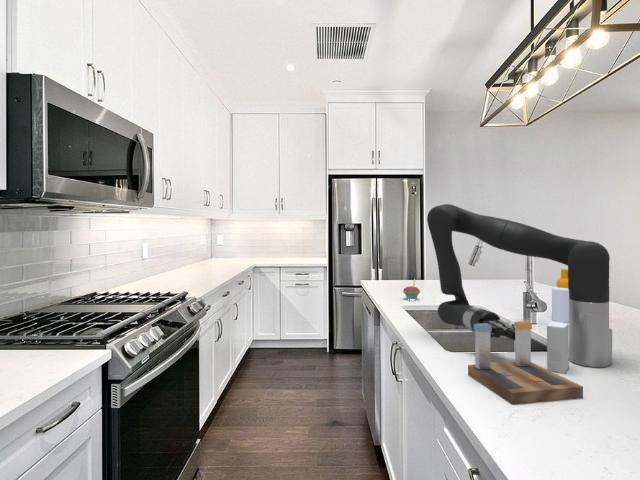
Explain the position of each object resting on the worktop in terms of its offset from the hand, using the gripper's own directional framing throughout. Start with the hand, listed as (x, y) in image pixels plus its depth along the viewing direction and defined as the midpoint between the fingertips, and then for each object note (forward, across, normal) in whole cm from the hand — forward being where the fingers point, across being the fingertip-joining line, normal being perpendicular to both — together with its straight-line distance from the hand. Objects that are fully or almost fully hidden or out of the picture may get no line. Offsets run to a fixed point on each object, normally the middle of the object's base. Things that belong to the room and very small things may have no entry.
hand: (518, 336), depth 104 cm
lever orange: (+2, 0, +7) cm, 7 cm away
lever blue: (+2, -11, +7) cm, 13 cm away
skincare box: (-1, +12, +10) cm, 15 cm away
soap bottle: (-50, +56, +10) cm, 76 cm away
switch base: (+7, -4, +10) cm, 13 cm away
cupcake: (-108, +15, +10) cm, 109 cm away
